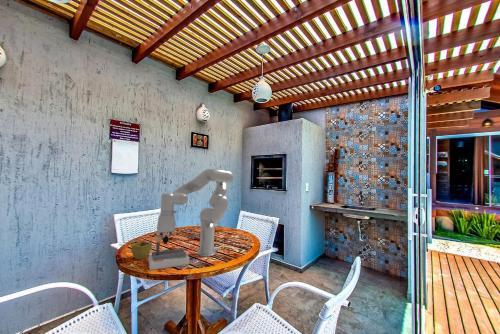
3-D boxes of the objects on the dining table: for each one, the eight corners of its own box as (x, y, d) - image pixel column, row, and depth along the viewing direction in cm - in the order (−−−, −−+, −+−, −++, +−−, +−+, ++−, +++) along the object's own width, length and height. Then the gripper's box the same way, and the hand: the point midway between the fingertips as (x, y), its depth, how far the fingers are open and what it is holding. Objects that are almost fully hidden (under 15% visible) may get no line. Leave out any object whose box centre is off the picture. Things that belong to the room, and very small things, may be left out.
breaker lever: (160, 255, 136) (161, 235, 137) (161, 258, 131) (162, 237, 131) (153, 256, 134) (154, 235, 135) (154, 259, 129) (155, 238, 129)
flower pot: (141, 254, 147) (142, 241, 148) (151, 256, 144) (152, 243, 145) (130, 259, 139) (130, 244, 140) (140, 261, 136) (141, 246, 136)
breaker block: (184, 256, 147) (185, 246, 147) (189, 264, 134) (189, 253, 135) (148, 261, 136) (149, 251, 137) (149, 270, 124) (150, 258, 124)
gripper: (178, 211, 142) (176, 240, 142) (153, 212, 136) (151, 242, 135) (180, 213, 136) (179, 243, 135) (154, 214, 129) (152, 246, 128)
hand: (165, 243), depth 135 cm, fingers closed
